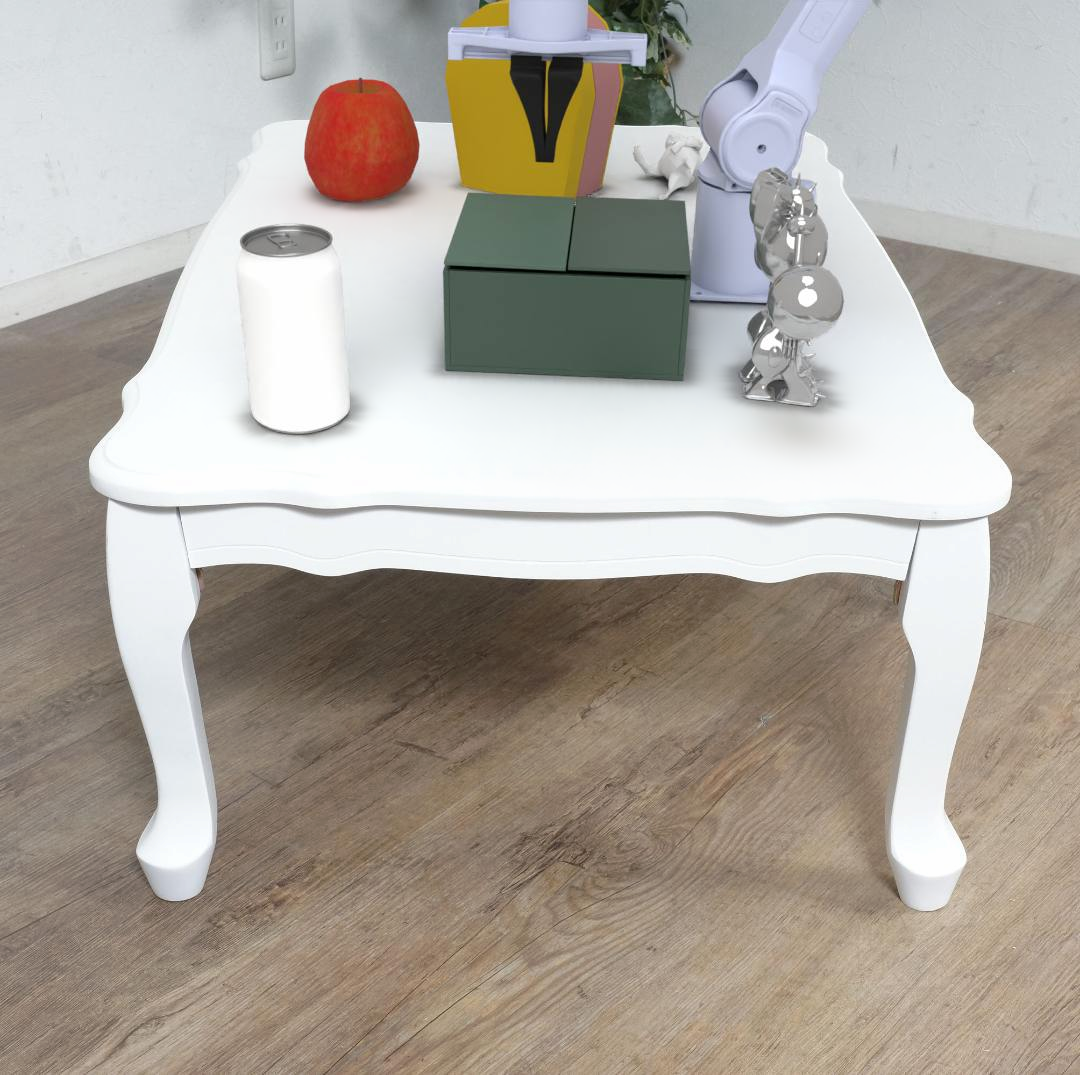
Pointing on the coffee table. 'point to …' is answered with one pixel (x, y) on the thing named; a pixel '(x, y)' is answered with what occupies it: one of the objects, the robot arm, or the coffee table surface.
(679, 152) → the figurine
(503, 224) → the green box lid
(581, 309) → the storage box
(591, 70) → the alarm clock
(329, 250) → the can
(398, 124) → the apple
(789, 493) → the coffee table surface
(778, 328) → the robot toy
